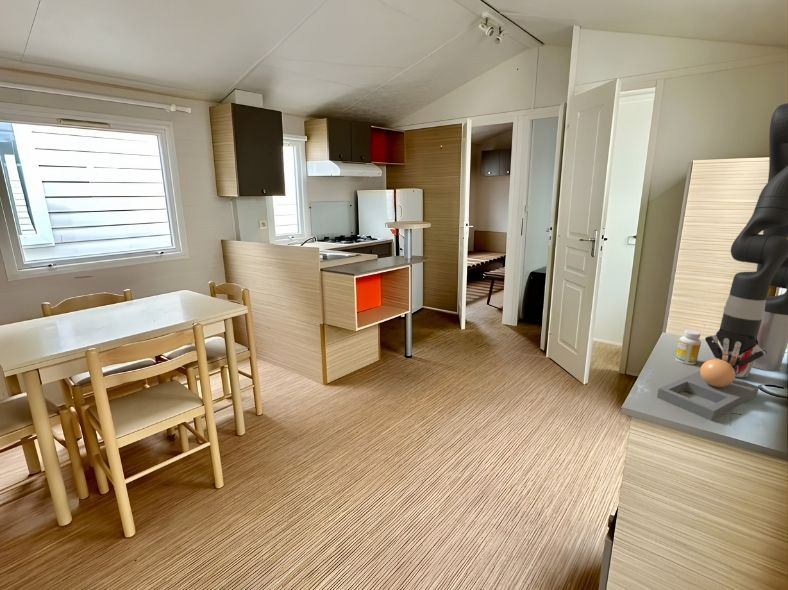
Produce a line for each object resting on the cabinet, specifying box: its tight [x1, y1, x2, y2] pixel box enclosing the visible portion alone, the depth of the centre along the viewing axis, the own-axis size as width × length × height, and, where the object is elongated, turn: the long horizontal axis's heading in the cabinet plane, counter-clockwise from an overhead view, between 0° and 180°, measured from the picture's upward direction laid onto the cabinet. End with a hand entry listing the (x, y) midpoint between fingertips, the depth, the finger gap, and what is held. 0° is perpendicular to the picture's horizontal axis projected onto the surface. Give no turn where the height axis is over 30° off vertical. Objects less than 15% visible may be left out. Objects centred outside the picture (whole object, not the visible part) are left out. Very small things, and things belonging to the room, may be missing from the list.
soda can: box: [735, 348, 753, 379], centre depth 115 cm, size 7×7×12 cm
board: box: [656, 370, 760, 421], centre depth 103 cm, size 24×12×2 cm, turn 120°
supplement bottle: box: [674, 329, 702, 365], centre depth 123 cm, size 5×5×10 cm
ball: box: [699, 358, 736, 387], centre depth 103 cm, size 7×7×7 cm
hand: (726, 376), depth 107 cm, fingers closed
